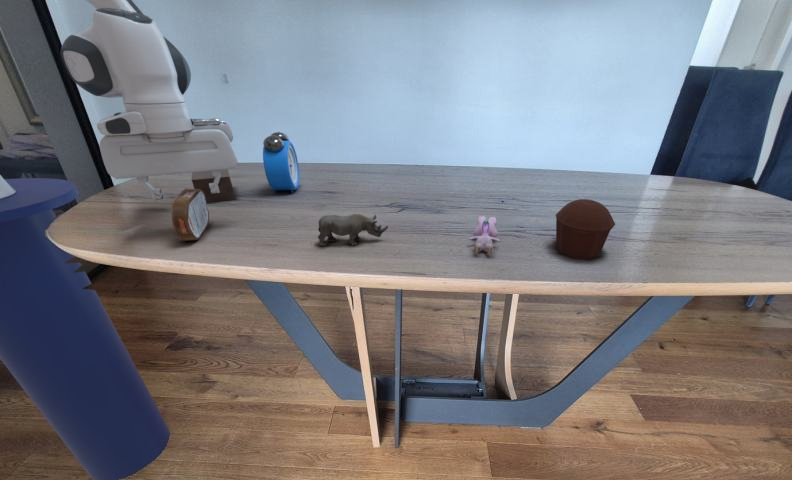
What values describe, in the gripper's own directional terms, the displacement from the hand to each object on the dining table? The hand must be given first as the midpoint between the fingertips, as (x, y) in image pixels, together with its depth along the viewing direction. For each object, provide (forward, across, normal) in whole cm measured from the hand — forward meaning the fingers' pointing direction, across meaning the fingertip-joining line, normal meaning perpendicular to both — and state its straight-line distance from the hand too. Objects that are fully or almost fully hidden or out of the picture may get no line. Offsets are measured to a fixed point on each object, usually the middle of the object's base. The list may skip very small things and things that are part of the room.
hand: (188, 195), depth 73 cm
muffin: (+9, -66, +43) cm, 79 cm away
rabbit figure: (+9, -50, +31) cm, 60 cm away
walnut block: (+8, -4, -27) cm, 28 cm away
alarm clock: (+8, -21, -25) cm, 34 cm away
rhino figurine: (+8, -27, +19) cm, 34 cm away
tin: (+8, 0, 0) cm, 8 cm away
